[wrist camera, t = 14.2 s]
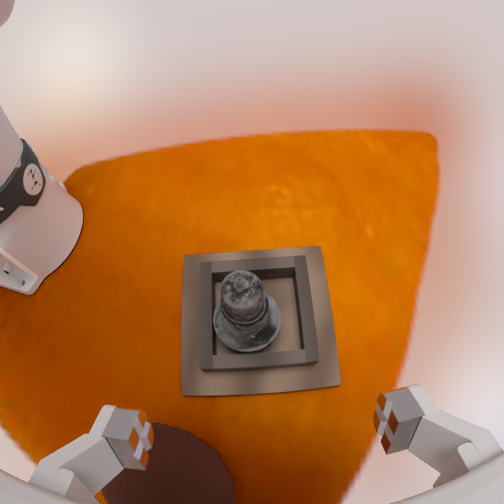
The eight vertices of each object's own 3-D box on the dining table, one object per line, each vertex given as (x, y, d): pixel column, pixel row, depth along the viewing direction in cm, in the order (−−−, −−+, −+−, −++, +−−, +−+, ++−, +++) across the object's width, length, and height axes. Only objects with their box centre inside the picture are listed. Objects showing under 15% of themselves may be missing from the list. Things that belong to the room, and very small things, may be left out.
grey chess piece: (225, 295, 31) (205, 231, 20) (283, 305, 30) (294, 244, 19) (212, 351, 28) (180, 315, 17) (273, 363, 27) (280, 333, 17)
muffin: (245, 525, 20) (236, 570, 11) (137, 517, 20) (91, 547, 11) (236, 419, 26) (222, 426, 17) (128, 417, 26) (74, 415, 17)
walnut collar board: (184, 395, 27) (174, 393, 24) (185, 259, 34) (178, 243, 31) (338, 385, 27) (347, 382, 24) (318, 250, 34) (324, 233, 31)
